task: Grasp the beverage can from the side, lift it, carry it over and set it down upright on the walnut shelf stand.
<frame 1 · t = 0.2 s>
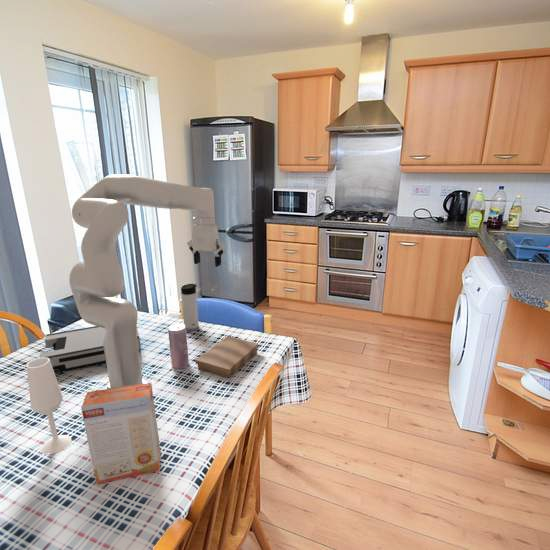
hand: (207, 264, 143), 31 cm above the table, fingers open, 9 cm apart
beverage can: (180, 365, 130), on the table
shelf stand: (228, 361, 132), on the table
travel mug: (192, 328, 159), on the table
champagne flute: (57, 444, 93), on the table
cracker box: (130, 468, 86), on the table
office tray: (95, 354, 138), on the table
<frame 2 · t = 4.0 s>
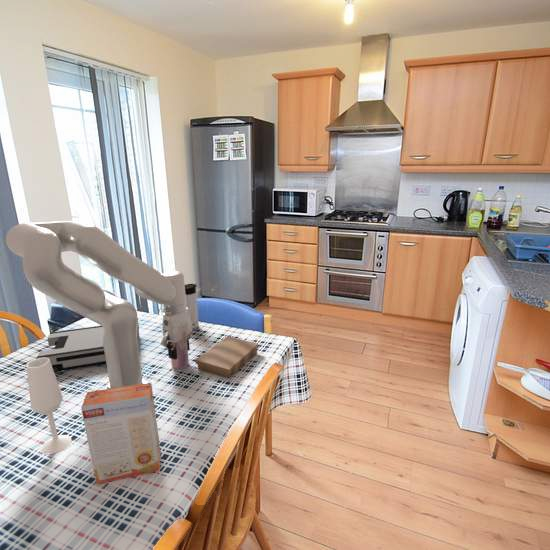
hand: (179, 353, 128), 5 cm above the table, fingers closed on beverage can, 6 cm apart
beverage can: (180, 365, 130), on the table, touching gripper
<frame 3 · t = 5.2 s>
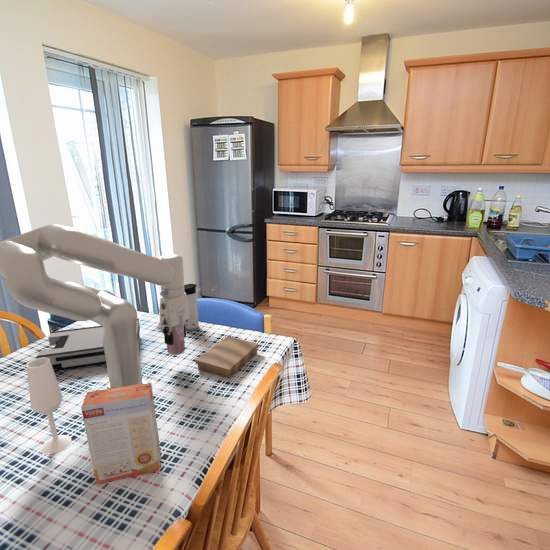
hand: (175, 339, 126), 10 cm above the table, fingers closed on beverage can, 6 cm apart
beverage can: (176, 352, 127), point 6 cm above the table, touching gripper
when the fingers open (10 cm above the table, at t = 11.3 s): beverage can drops 1 cm, resting on shelf stand.
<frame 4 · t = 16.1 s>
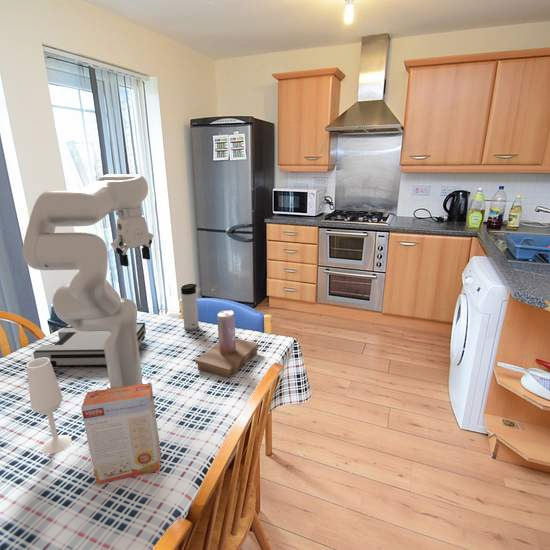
hand: (136, 262, 126), 36 cm above the table, fingers open, 9 cm apart
beverage can: (227, 352, 131), point 4 cm above the table, touching shelf stand
at the end: beverage can inside the target area on the shelf stand (0.2 cm from its centre), point 3.8 cm above the shelf stand's base; beverage can tilted 0°; the gripper is holding nothing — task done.
